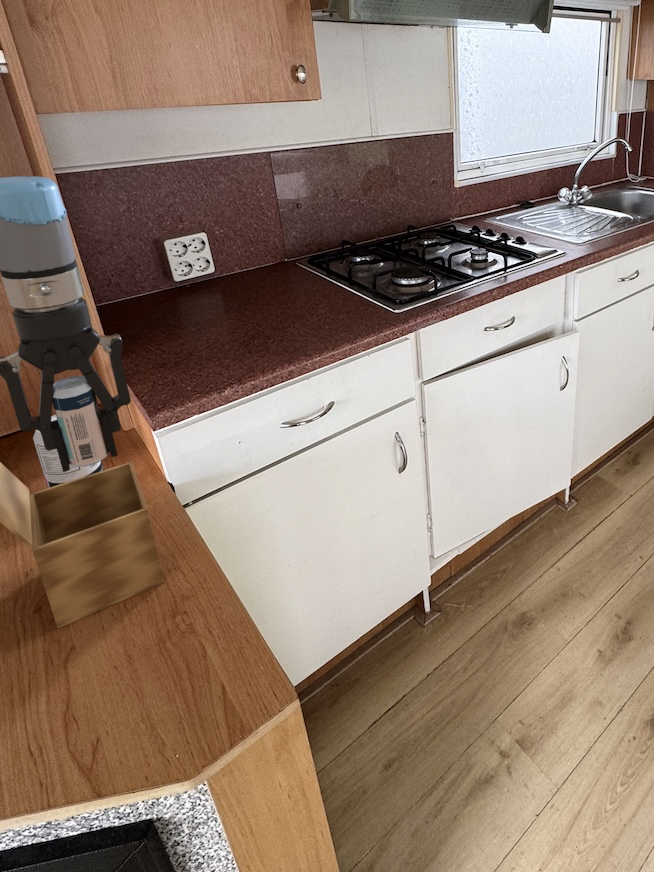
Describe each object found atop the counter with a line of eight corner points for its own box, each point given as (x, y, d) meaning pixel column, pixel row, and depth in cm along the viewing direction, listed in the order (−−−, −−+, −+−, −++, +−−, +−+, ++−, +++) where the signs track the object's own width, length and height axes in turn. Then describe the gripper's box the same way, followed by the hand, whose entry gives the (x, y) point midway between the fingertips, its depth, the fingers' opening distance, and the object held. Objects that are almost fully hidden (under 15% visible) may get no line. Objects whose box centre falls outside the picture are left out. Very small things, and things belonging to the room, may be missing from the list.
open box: (57, 628, 79) (32, 550, 74) (51, 566, 89) (29, 494, 85) (164, 582, 87) (147, 508, 82) (147, 529, 97) (131, 461, 92)
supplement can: (43, 498, 104) (21, 426, 98) (94, 474, 110) (75, 405, 105) (65, 515, 100) (44, 441, 94) (116, 489, 106) (98, 418, 101)
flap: (32, 545, 74) (29, 547, 74) (29, 489, 84) (26, 491, 84) (-3, 514, 71) (-6, 517, 71) (-2, 460, 81) (-5, 462, 81)
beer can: (118, 451, 82) (100, 376, 78) (90, 471, 78) (70, 393, 74) (89, 447, 83) (70, 372, 79) (60, 467, 79) (38, 389, 75)
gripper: (-49, 328, 65) (7, 498, 73) (135, 297, 75) (167, 449, 83) (-44, 308, 70) (8, 469, 78) (127, 282, 81) (157, 426, 89)
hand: (89, 458), depth 81 cm, fingers closed on beer can, 5 cm apart
